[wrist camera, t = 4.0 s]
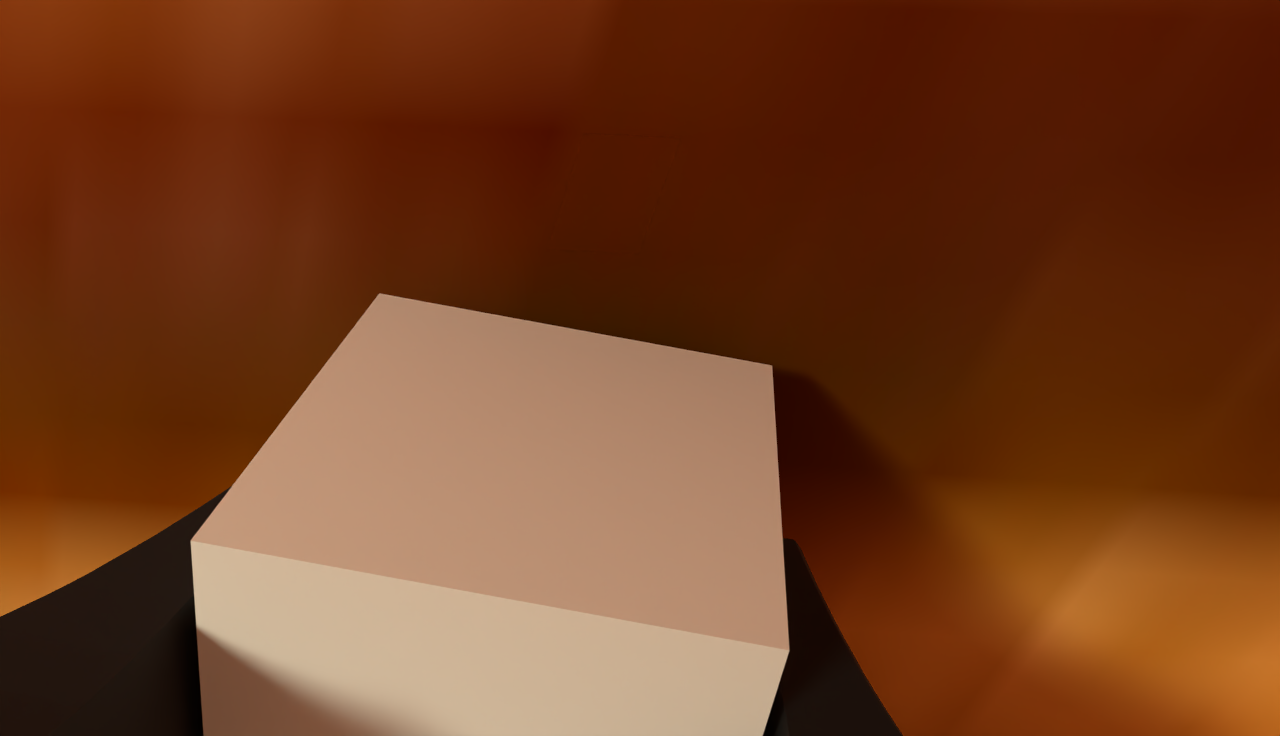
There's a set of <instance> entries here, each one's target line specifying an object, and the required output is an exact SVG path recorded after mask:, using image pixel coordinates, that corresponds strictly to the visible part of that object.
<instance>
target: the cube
mask: <svg viewBox="0 0 1280 736" xmlns="http://www.w3.org/2000/svg"><path fill="white" fill-rule="evenodd" d="M191 554H192V569H193V584H194V600H195V615H196V630H197V645H198V660H199V675H200V690H201V705H202V720H203V735H204V736H763V733H764V730H765V727H766V724H767V720H768V717H769V714H770V711H771V708H772V704H773V701H774V698H775V695H776V692H777V688H778V685H779V682H780V679H781V676H782V672H783V669H784V666H785V663H786V660H787V656H788V653H789V636H788V619H787V603H786V586H785V570H784V553H783V537H782V520H781V504H780V487H779V470H778V454H777V437H776V421H775V404H774V388H773V371H772V365H767V364H761V363H756V362H750V361H745V360H739V359H734V358H728V357H723V356H718V355H712V354H707V353H701V352H696V351H690V350H685V349H679V348H674V347H669V346H663V345H658V344H652V343H647V342H641V341H636V340H630V339H625V338H620V337H614V336H609V335H603V334H598V333H592V332H587V331H581V330H576V329H571V328H565V327H560V326H554V325H549V324H543V323H538V322H532V321H527V320H521V319H516V318H511V317H505V316H500V315H494V314H489V313H483V312H478V311H472V310H467V309H462V308H456V307H451V306H445V305H440V304H434V303H429V302H423V301H418V300H413V299H407V298H402V297H396V296H391V295H385V294H380V293H379V295H378V296H377V297H376V299H375V300H374V301H373V303H372V304H371V305H370V306H369V308H368V309H367V310H366V312H365V313H364V314H363V316H362V317H361V318H360V320H359V321H358V322H357V323H356V325H355V326H354V327H353V329H352V330H351V331H350V333H349V334H348V335H347V337H346V338H345V339H344V340H343V342H342V343H341V344H340V346H339V347H338V348H337V350H336V351H335V352H334V354H333V355H332V356H331V358H330V359H329V360H328V361H327V363H326V364H325V365H324V367H323V368H322V369H321V371H320V372H319V373H318V375H317V376H316V377H315V378H314V380H313V381H312V382H311V384H310V385H309V386H308V388H307V389H306V390H305V392H304V393H303V394H302V395H301V397H300V398H299V399H298V401H297V402H296V403H295V405H294V406H293V407H292V409H291V410H290V411H289V412H288V414H287V415H286V416H285V418H284V419H283V420H282V422H281V423H280V424H279V426H278V427H277V428H276V430H275V431H274V432H273V433H272V435H271V436H270V437H269V439H268V440H267V441H266V443H265V444H264V445H263V447H262V448H261V449H260V450H259V452H258V453H257V454H256V456H255V457H254V458H253V460H252V461H251V462H250V464H249V465H248V466H247V467H246V469H245V470H244V471H243V473H242V474H241V475H240V477H239V478H238V479H237V481H236V482H235V483H234V485H233V486H232V487H231V488H230V490H229V491H228V492H227V494H226V495H225V496H224V498H223V499H222V500H221V502H220V503H219V504H218V505H217V507H216V508H215V509H214V511H213V512H212V513H211V515H210V516H209V517H208V519H207V520H206V521H205V522H204V524H203V525H202V526H201V528H200V529H199V530H198V532H197V533H196V534H195V536H194V537H193V538H192V540H191Z"/></svg>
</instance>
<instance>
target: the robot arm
mask: <svg viewBox="0 0 1280 736" xmlns="http://www.w3.org/2000/svg"><path fill="white" fill-rule="evenodd" d="M231 487H232V486H231ZM231 487H230V488H231ZM230 488H228V489H227V490H225V491H224V492H222V493H221V494H219V495H218V496H216V497H215V498H213V499H212V500H210V501H209V502H207V503H206V504H204V505H203V506H201V507H199V508H198V509H196V510H195V511H193V512H191V513H190V514H188V515H187V516H185V517H184V518H182V519H180V520H179V521H177V522H176V523H174V524H172V525H171V526H169V527H168V528H166V529H165V530H163V531H161V532H160V533H158V534H157V535H155V536H153V537H151V538H150V539H148V540H146V541H144V542H143V543H141V544H139V545H137V546H136V547H134V548H132V549H130V550H129V551H127V552H125V553H124V554H122V555H120V556H118V557H117V558H115V559H113V560H111V561H110V562H108V563H106V564H104V565H103V566H101V567H99V568H97V569H96V570H94V571H92V572H90V573H89V574H87V575H85V576H83V577H81V578H79V579H77V580H75V581H73V582H71V583H70V584H68V585H66V586H64V587H62V588H60V589H58V590H56V591H54V592H52V593H50V594H48V595H46V596H44V597H42V598H40V599H37V600H35V601H33V602H31V603H29V604H27V605H25V606H22V607H20V608H18V609H16V610H14V611H12V612H10V613H7V614H5V615H3V616H1V617H0V736H204V735H203V720H202V705H201V690H200V675H199V660H198V645H197V630H196V615H195V600H194V584H193V569H192V554H191V540H192V538H193V537H194V536H195V534H196V533H197V532H198V530H199V529H200V528H201V526H202V525H203V524H204V522H205V521H206V520H207V519H208V517H209V516H210V515H211V513H212V512H213V511H214V509H215V508H216V507H217V505H218V504H219V503H220V502H221V500H222V499H223V498H224V496H225V495H226V494H227V492H228V491H229V490H230ZM783 553H784V570H785V586H786V603H787V619H788V636H789V653H788V656H787V660H786V663H785V666H784V669H783V672H782V676H781V679H780V682H779V685H778V688H777V692H776V695H775V698H774V701H773V704H772V708H771V711H770V714H769V717H768V720H767V724H766V727H765V730H764V733H763V736H903V735H902V733H901V732H900V730H899V729H898V727H897V726H896V724H895V723H894V721H893V720H892V718H891V717H890V715H889V713H888V712H887V710H886V709H885V707H884V706H883V704H882V703H881V701H880V699H879V698H878V696H877V694H876V693H875V691H874V690H873V688H872V686H871V685H870V683H869V681H868V680H867V678H866V676H865V674H864V673H863V671H862V669H861V667H860V666H859V664H858V662H857V660H856V658H855V657H854V655H853V653H852V651H851V650H850V648H849V646H848V644H847V643H846V641H845V639H844V637H843V635H842V633H841V631H840V630H839V628H838V626H837V624H836V622H835V620H834V618H833V616H832V614H831V612H830V610H829V608H828V606H827V604H826V602H825V600H824V598H823V596H822V594H821V592H820V590H819V588H818V586H817V584H816V582H815V579H814V577H813V575H812V573H811V571H810V568H809V566H808V564H807V562H806V560H805V557H804V555H803V553H802V550H801V549H800V547H799V546H798V544H797V543H796V541H795V540H791V539H786V538H783Z"/></svg>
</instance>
